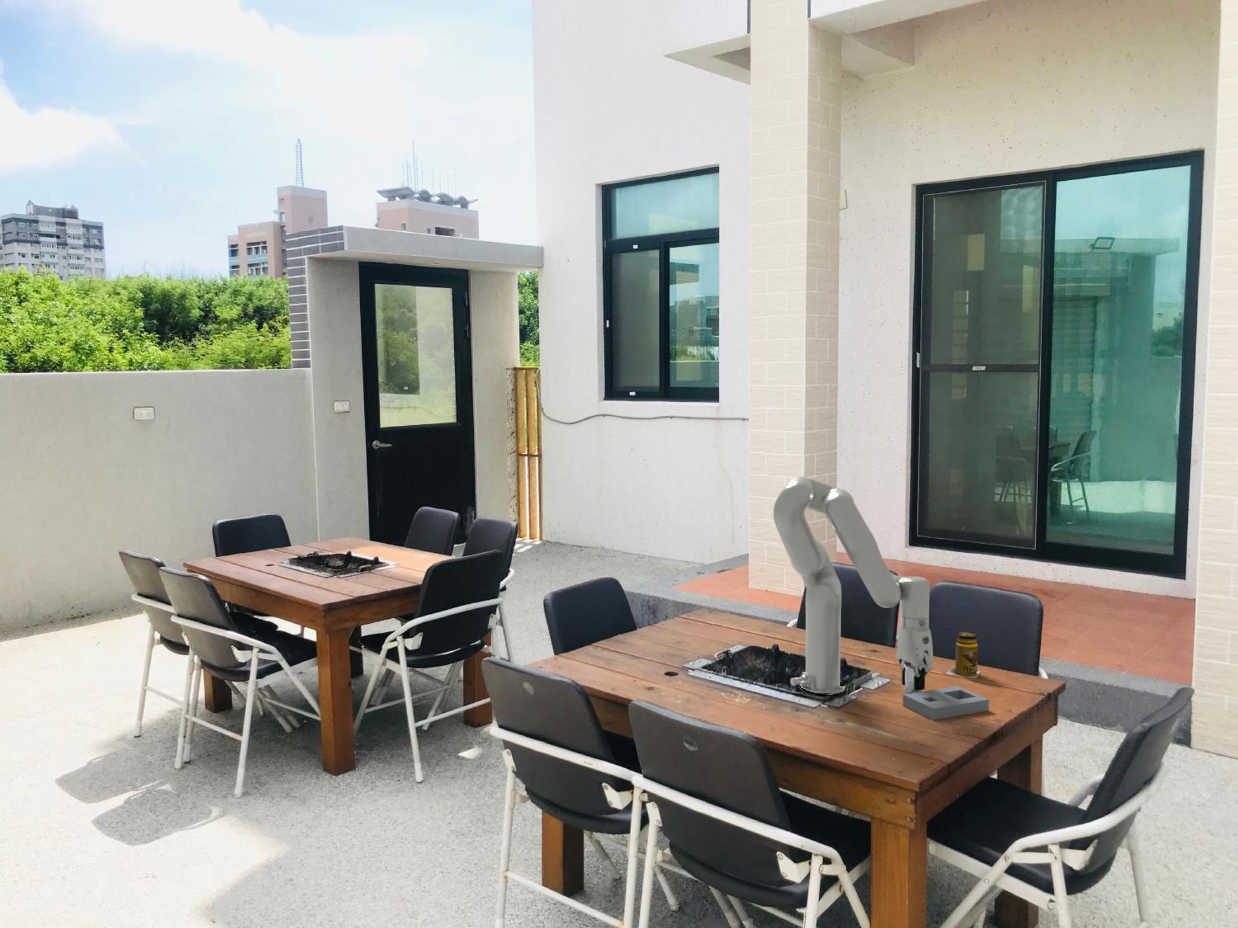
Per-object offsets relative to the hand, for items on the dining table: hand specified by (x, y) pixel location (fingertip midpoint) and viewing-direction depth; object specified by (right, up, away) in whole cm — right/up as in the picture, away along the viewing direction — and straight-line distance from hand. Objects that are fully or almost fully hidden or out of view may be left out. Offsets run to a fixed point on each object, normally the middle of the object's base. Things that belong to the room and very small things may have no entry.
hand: (913, 686), depth 267 cm
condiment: (+20, -1, +19) cm, 28 cm away
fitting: (0, -2, 0) cm, 2 cm away
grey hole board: (+5, -3, -11) cm, 12 cm away
